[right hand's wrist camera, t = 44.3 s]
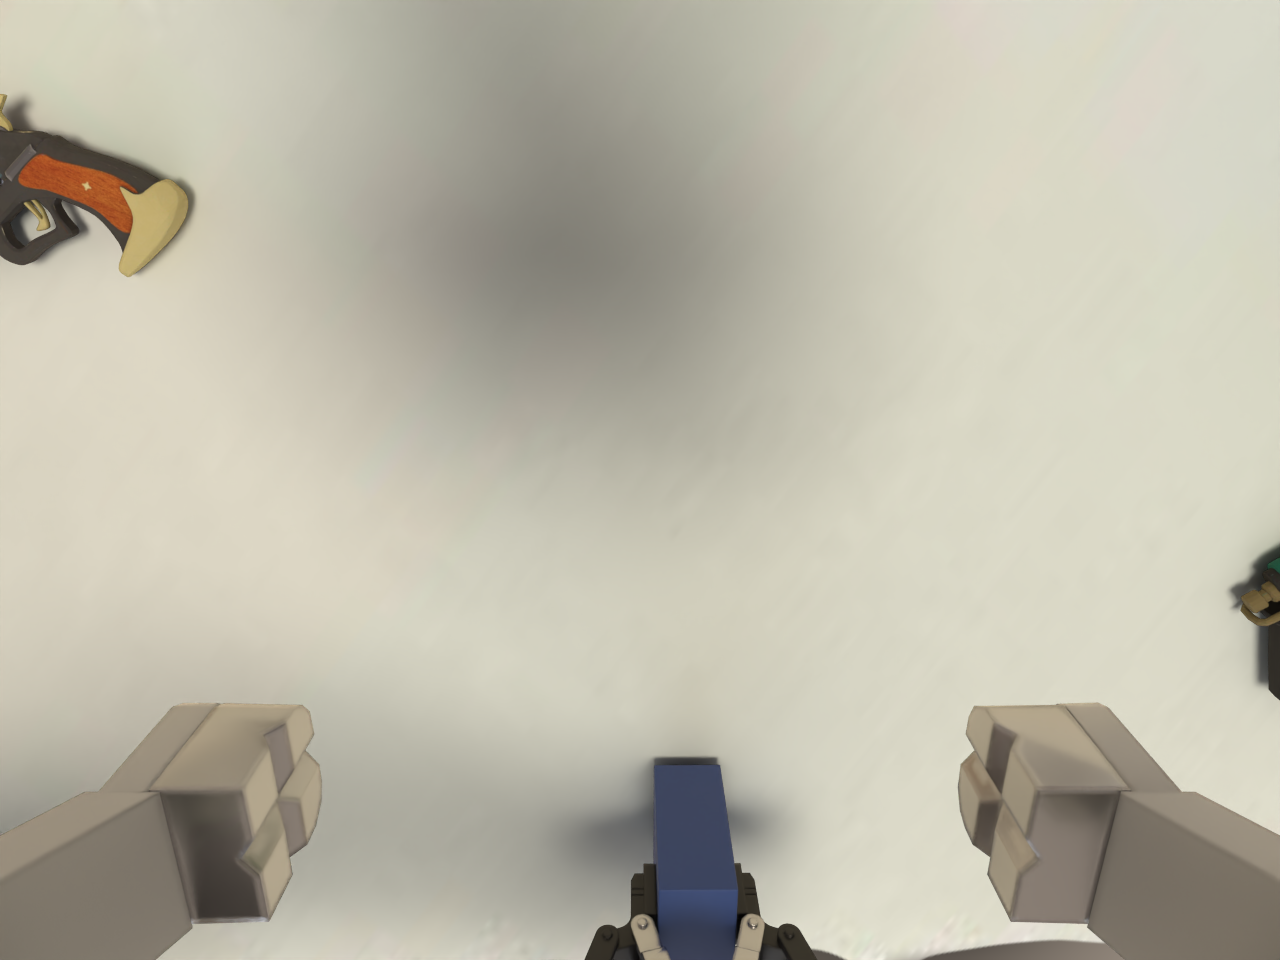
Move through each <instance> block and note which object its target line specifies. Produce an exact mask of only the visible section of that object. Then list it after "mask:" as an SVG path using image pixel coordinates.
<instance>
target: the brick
mask: <svg viewBox="0 0 1280 960" xmlns="http://www.w3.org/2000/svg"><path fill="white" fill-rule="evenodd" d="M653 859H654V864H656V889H657V932H658V934H659V937H660V940H661V942H662V945H663V947H664V946H665V947H666V948H667V951H668V953H669V956H670V959H671V960H732V959H733V954H734V950H735V940H736V921H737V903H738V885H737V878H736V871H735V865H734V858H733V851H732V844H731V837H730V830H729V823H728V816H727V810H726V803H725V796H724V789H723V782H722V775H721V768H720V765H655V766H654V838H653Z"/></svg>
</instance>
